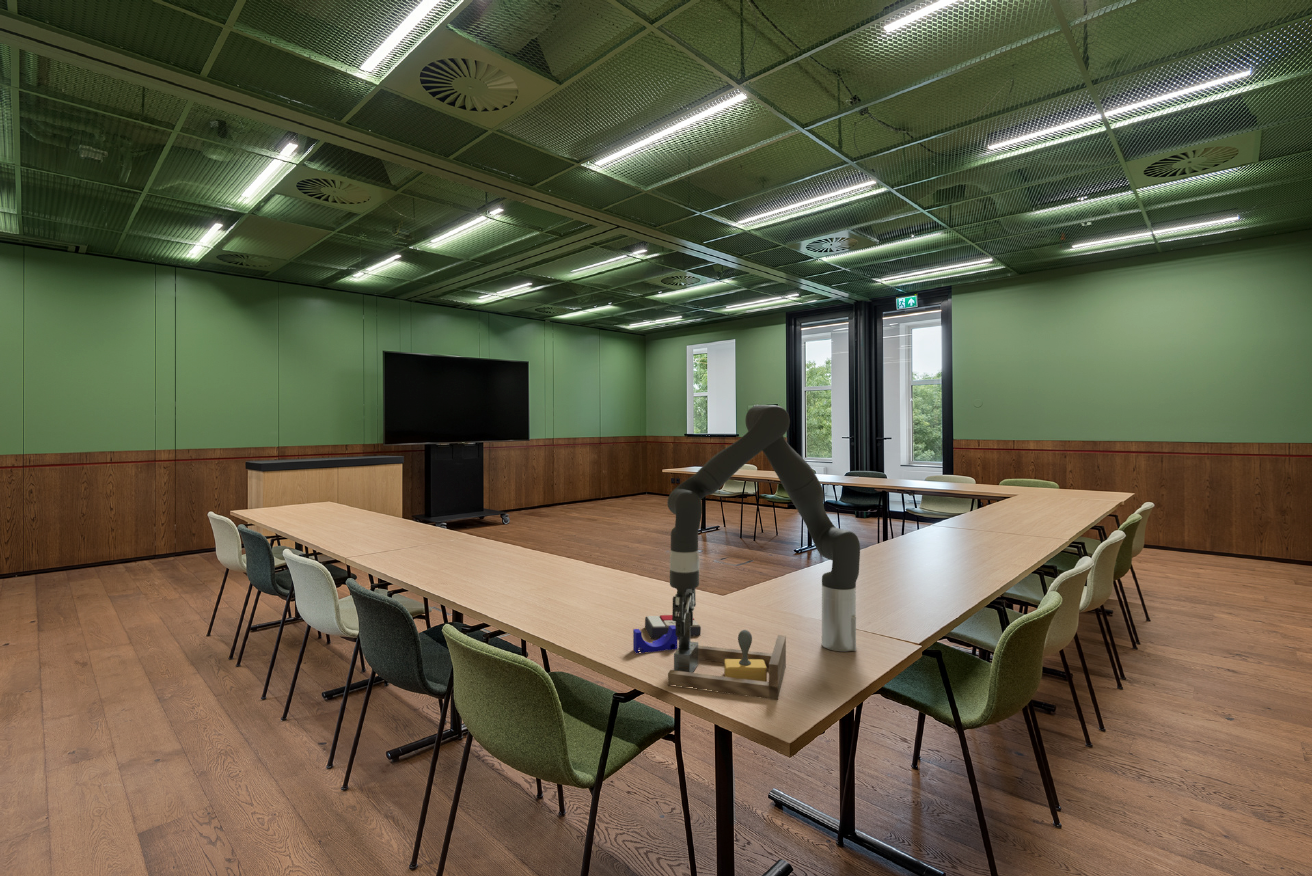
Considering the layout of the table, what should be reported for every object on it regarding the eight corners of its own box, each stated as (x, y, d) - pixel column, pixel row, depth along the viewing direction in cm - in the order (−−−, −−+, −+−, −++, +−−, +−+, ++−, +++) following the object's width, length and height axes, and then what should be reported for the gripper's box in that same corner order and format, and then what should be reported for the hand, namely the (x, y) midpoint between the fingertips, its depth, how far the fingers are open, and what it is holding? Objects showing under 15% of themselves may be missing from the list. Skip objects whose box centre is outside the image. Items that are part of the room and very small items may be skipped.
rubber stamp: (725, 682, 146) (725, 633, 145) (724, 672, 151) (724, 625, 151) (766, 683, 145) (767, 634, 145) (763, 673, 151) (763, 626, 151)
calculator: (701, 624, 178) (652, 625, 175) (700, 638, 178) (651, 640, 175) (691, 613, 189) (645, 614, 186) (691, 626, 189) (644, 627, 186)
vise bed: (785, 666, 155) (785, 635, 155) (777, 699, 136) (777, 665, 136) (688, 655, 163) (688, 626, 163) (668, 685, 144) (668, 652, 144)
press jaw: (698, 663, 157) (698, 608, 156) (689, 677, 148) (689, 619, 147) (683, 661, 158) (683, 606, 157) (674, 675, 149) (673, 617, 148)
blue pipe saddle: (672, 644, 172) (672, 623, 172) (677, 649, 168) (677, 628, 168) (631, 648, 168) (631, 627, 168) (636, 654, 164) (636, 632, 164)
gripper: (692, 575, 144) (692, 641, 145) (704, 562, 158) (705, 623, 158) (662, 573, 147) (662, 638, 147) (677, 560, 160) (677, 620, 161)
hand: (684, 630), depth 153 cm, fingers open, 8 cm apart
